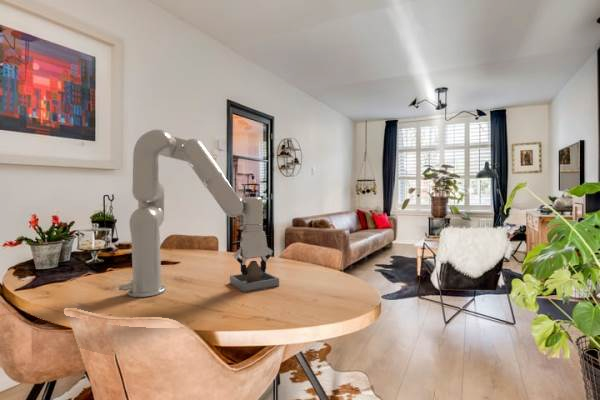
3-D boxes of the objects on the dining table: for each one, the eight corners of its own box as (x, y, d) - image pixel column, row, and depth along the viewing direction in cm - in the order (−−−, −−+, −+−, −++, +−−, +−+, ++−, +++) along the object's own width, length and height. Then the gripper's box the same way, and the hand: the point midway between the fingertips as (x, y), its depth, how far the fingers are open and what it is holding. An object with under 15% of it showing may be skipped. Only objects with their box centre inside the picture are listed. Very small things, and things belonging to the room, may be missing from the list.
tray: (243, 292, 122) (243, 284, 121) (229, 283, 134) (229, 275, 134) (279, 286, 129) (279, 278, 129) (262, 277, 142) (262, 270, 142)
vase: (261, 285, 128) (260, 263, 128) (243, 285, 128) (242, 263, 128) (263, 281, 135) (263, 259, 135) (246, 280, 135) (246, 259, 135)
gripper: (235, 230, 123) (236, 278, 124) (277, 227, 132) (277, 271, 133) (228, 228, 129) (229, 274, 130) (268, 226, 139) (269, 268, 139)
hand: (253, 272), depth 131 cm, fingers open, 7 cm apart
